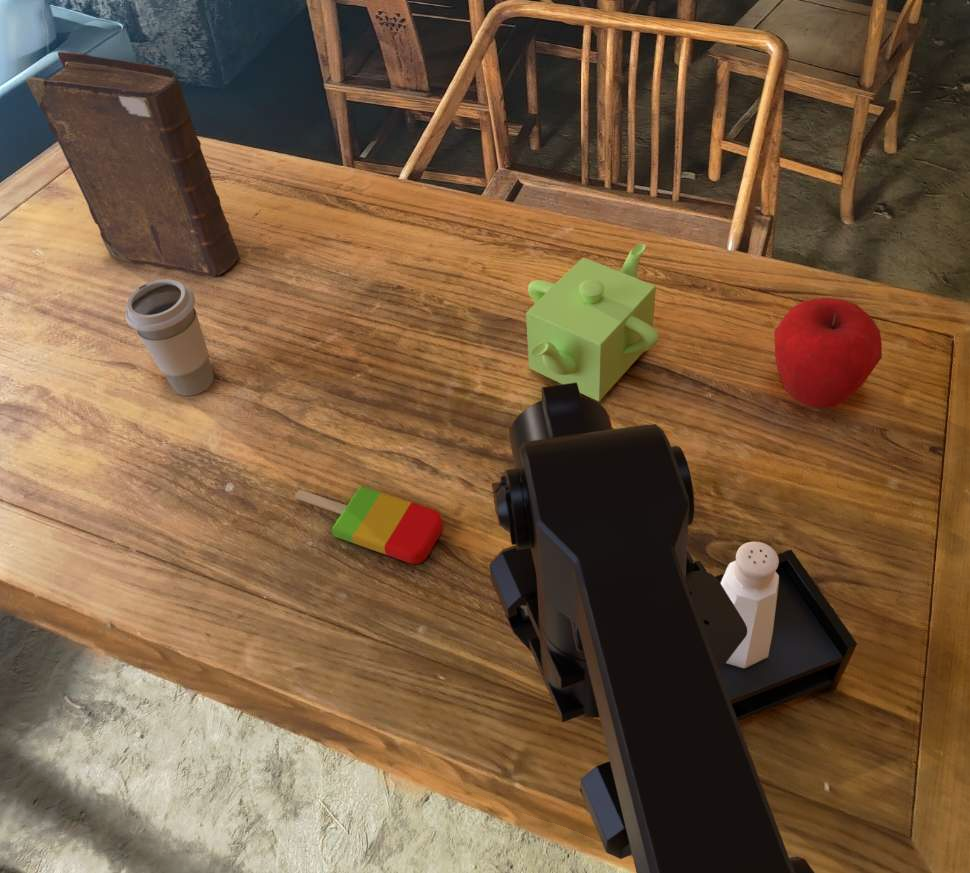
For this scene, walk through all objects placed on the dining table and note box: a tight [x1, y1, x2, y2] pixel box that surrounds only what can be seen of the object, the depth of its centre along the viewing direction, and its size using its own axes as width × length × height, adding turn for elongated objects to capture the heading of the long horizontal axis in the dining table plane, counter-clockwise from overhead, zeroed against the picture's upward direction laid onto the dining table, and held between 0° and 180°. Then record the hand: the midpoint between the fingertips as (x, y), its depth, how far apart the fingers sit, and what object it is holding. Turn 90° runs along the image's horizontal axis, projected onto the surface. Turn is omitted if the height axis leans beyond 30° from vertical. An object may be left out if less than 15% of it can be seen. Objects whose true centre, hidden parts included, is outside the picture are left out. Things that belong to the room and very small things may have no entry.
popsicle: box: [294, 485, 444, 565], centre depth 87 cm, size 6×15×2 cm, turn 66°
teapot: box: [525, 243, 660, 402], centre depth 96 cm, size 15×13×11 cm
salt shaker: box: [721, 541, 779, 669], centre depth 67 cm, size 5×5×11 cm
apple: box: [773, 297, 883, 409], centre depth 90 cm, size 10×10×11 cm
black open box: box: [714, 549, 858, 723], centre depth 73 cm, size 9×14×8 cm, turn 110°
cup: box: [125, 278, 215, 397], centre depth 98 cm, size 7×7×12 cm
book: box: [26, 50, 240, 278], centre depth 108 cm, size 17×7×25 cm, turn 64°
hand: (590, 736), depth 59 cm, fingers open, 9 cm apart
